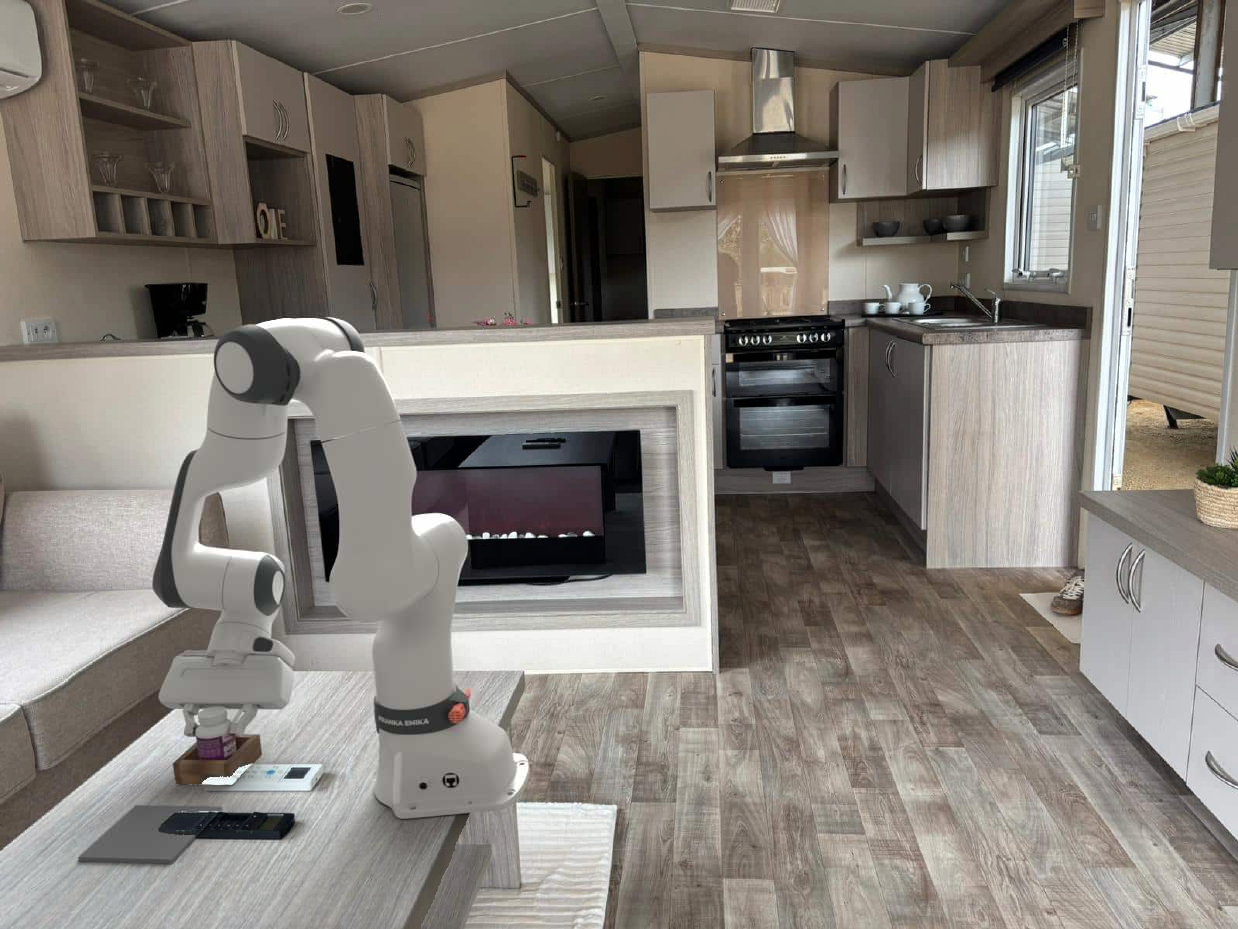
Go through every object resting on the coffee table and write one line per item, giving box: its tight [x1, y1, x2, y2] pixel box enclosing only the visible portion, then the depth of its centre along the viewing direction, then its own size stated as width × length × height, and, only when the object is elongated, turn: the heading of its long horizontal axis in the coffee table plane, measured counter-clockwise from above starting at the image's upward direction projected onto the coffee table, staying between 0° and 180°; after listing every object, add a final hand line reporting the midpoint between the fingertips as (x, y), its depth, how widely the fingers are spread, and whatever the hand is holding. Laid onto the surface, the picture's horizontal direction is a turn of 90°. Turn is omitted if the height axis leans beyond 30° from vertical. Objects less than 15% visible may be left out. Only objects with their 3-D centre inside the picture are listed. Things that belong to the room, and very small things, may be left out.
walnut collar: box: [172, 733, 263, 786], centre depth 139 cm, size 9×9×4 cm
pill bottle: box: [195, 706, 237, 760], centre depth 139 cm, size 5×5×10 cm
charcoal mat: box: [77, 804, 223, 865], centre depth 123 cm, size 13×12×1 cm
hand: (212, 736), depth 138 cm, fingers open, 6 cm apart
